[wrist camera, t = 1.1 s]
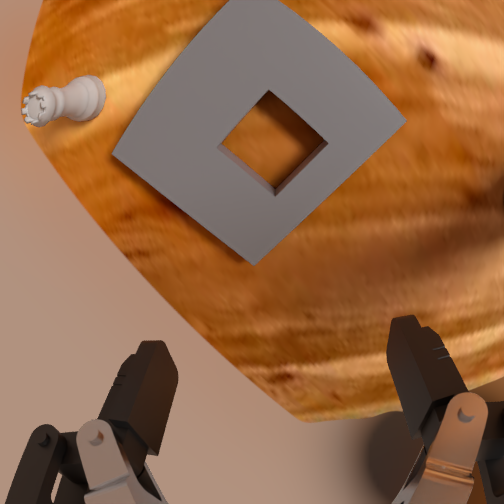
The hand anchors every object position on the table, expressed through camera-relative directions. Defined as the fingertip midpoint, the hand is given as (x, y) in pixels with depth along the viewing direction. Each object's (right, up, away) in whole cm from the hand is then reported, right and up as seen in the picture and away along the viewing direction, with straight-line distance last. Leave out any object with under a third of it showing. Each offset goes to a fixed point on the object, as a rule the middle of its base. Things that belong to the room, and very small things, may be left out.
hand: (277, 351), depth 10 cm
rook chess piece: (-16, +18, +12) cm, 27 cm away
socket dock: (-1, +14, +13) cm, 19 cm away
